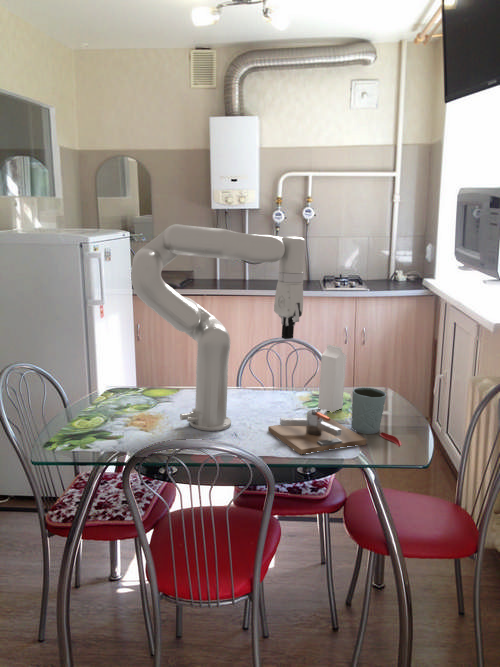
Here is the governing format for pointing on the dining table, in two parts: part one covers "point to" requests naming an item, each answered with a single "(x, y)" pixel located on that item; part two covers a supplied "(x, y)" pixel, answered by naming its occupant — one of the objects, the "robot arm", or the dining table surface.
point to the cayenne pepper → (390, 438)
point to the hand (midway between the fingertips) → (287, 338)
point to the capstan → (313, 423)
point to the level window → (329, 442)
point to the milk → (332, 379)
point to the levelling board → (314, 437)
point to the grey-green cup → (367, 409)
